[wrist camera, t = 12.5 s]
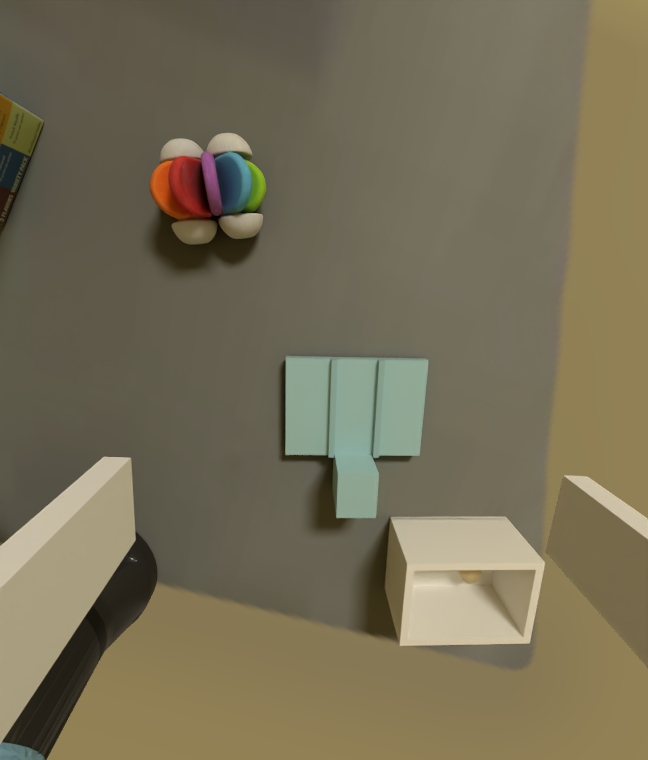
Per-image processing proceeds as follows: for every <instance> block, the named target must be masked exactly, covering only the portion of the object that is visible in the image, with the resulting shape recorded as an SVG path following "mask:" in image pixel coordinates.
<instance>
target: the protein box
mask: <svg viewBox="0 0 648 760" xmlns="http://www.w3.org/2000/svg"><path fill="white" fill-rule="evenodd" d="M43 123H44V122H43V120H42V119H41V118H39V117H38V116H36V115H34V114H33V113H31V112H30V111H28V110H27V109H25V108H24V107H22V106H21V105H19V104H17V103H16V102H14V101H13V100H11V99H10V98H8V97H7V96H5V95H3V94H2V93H0V224H1V225H4V224H5V222H6V219H7V216H8V214H9V211H10V208H11V206H12V203H13V201H14V198H15V195H16V193H17V190H18V188H19V185H20V183H21V180H22V178H23V175H24V172H25V170H26V167H27V165H28V162H29V159H30V157H31V154H32V152H33V149H34V146H35V144H36V141H37V139H38V136H39V133H40V131H41V128H42V126H43Z"/></svg>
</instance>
